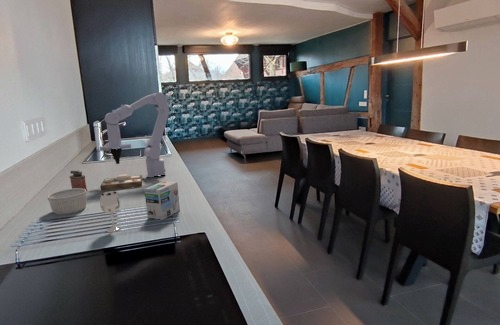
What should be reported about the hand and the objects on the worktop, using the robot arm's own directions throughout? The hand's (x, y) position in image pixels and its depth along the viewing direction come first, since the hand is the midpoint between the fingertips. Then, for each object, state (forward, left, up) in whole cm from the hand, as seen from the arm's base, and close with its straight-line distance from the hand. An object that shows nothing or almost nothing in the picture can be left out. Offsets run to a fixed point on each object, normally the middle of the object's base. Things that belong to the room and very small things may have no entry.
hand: (117, 163), depth 170 cm
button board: (-2, +8, -9) cm, 13 cm away
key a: (-8, +7, -9) cm, 14 cm away
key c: (+4, +7, -9) cm, 12 cm away
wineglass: (-4, +69, -10) cm, 70 cm away
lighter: (+17, +11, -10) cm, 22 cm away
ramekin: (+15, +40, -10) cm, 44 cm away
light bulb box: (-20, +61, -10) cm, 65 cm away
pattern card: (-2, +13, -7) cm, 15 cm away
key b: (-2, +7, -8) cm, 11 cm away
